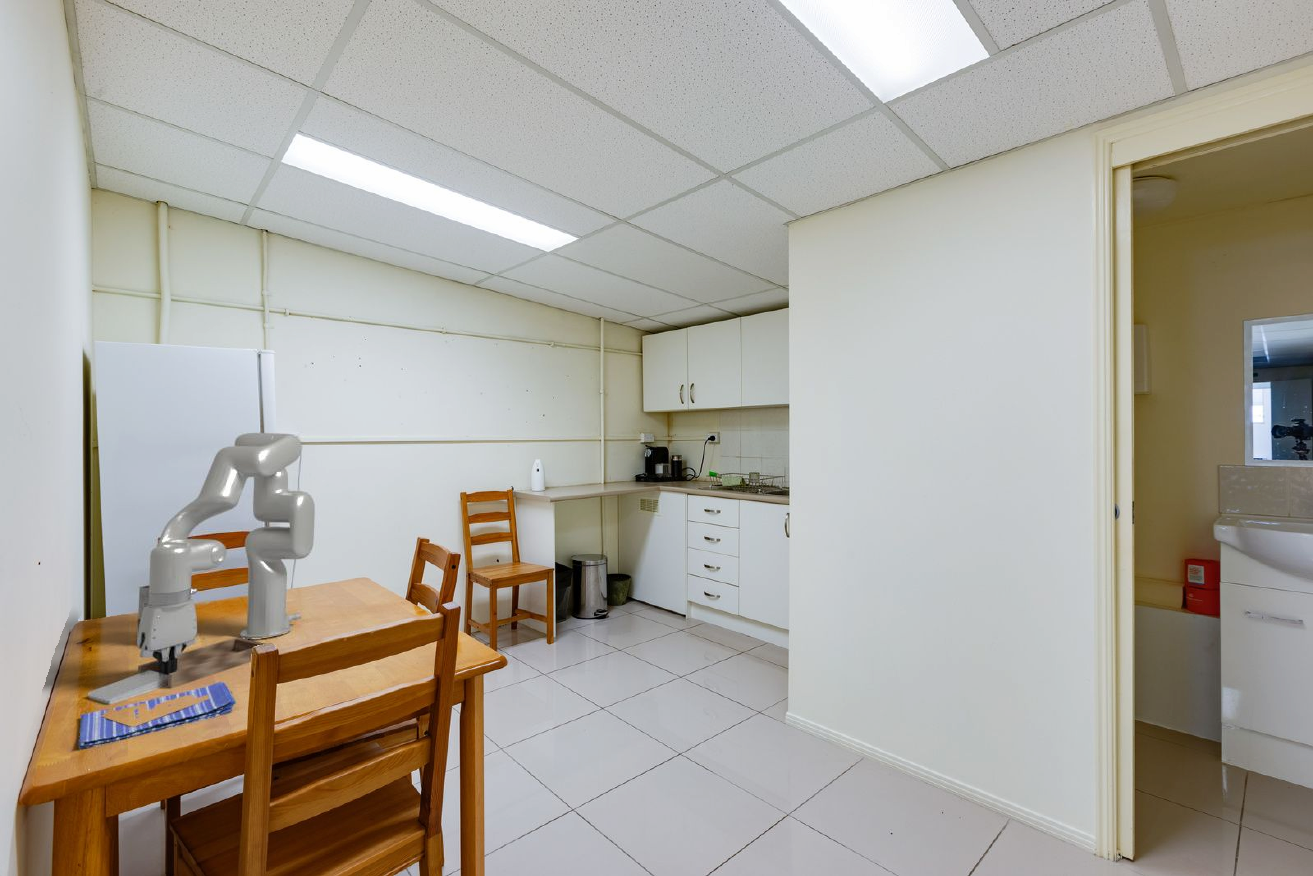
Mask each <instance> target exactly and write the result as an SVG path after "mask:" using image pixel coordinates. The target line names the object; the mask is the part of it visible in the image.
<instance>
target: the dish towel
mask: <svg viewBox="0 0 1313 876" xmlns="http://www.w3.org/2000/svg"><path fill="white" fill-rule="evenodd" d="M186 696H193V698H197V699H198V698H202V697H204V696H207V697H208V699H206V700H204V701H200V702H198V703H197V702H196V703H195V704H192V705H189V706H187V707H184V708H181V709H178V710H175V711H173V712H170V713H168V714H165V715H162V716H160V717H157V718H154V719H151V720H149V721H147V722H144V723H141V724H138V725H135V726H131V725H128V724H125V723H122V722H118V721H116V720H113V719H110V718H107V717H104V716H103V715H106V714H107V712H108V711H110V710H111V709H104V710H103V709H100V710H96V711H92V712H87V713H81V715H80V726H81V727H79V733H80V736H79V735H78V749H79V751H82V750H83V749H88V748H95V747H94V746H96V747H99V745H100V746H103V745H102V744H104V745H106V744H107V743H108V744H111V743H110V742H112V743H117V742H120V741H122V740H123V741H124V740H127V738H128V739H132V738H136V737H139V736H143V735H147V734H152V733H151V732H153V733H157V732H159V731H164V730H168V729H167V728H169V729H172V728H176V727H179V725H180V726H183V725H182V724H185V723H189V724H192V722H193V723H196V721H197V722H200V721H199V720H201V721H203V720H202V719H205V720H208V718H209V719H211V718H212V717H213V718H216V717H215V716H217V717H219V716H218V715H219V714H224V715H226V714H225V713H227V714H230V713H231V711H232V712H233V709H232V708H233V707H234V705H235V704H237V701H236V700H235V698H234V697H233V695H232V693H231V691H230V689H229V687H228V685H226V683H225V682H224V681H223V682H222V681H219V682H216V683H213V684H210V685H207V686H204V687H200V688H195V689H191V690H188V691H185V692H179V693H175V694H170V695H164V696H161V697H160V696H159V697H158V698H157V697H156V698H153V699H148V700H145V701H139V702H135V703H129V704H126V705H122V706H117V707H114V708H113V710H114V711H120V710H122V709H126V708H132V707H136V706H139V705H140V706H141V705H143V704H144V705H146V707H145V708H146V711H150V710H153V709H154V708H155V707H156V706H157V705H160V704H162V703H165V702H167V701H173V700H175V699H178V698H182V697H186ZM167 706H168V707H170V706H171V704H168V705H167ZM140 709H141V708H136V709H135V710H134V711H133V717H134V718H133V720H135V719H138V718H140V717H141V716H140V712H138V711H139V710H140ZM229 712H230V713H229ZM137 715H139V716H137ZM185 725H186V724H185ZM79 737H80V739H79ZM131 737H132V738H131ZM119 740H120V741H119ZM108 744H107V745H108Z"/></svg>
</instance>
